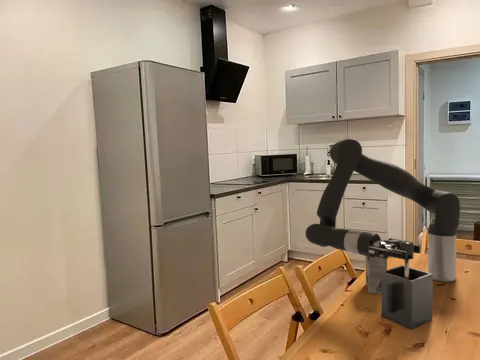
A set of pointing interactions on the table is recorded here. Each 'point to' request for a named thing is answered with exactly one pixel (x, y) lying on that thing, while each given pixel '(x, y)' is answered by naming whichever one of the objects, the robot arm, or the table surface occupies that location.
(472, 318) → the table surface
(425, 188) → the robot arm
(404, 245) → the plunger
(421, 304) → the box
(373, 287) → the coffee box
